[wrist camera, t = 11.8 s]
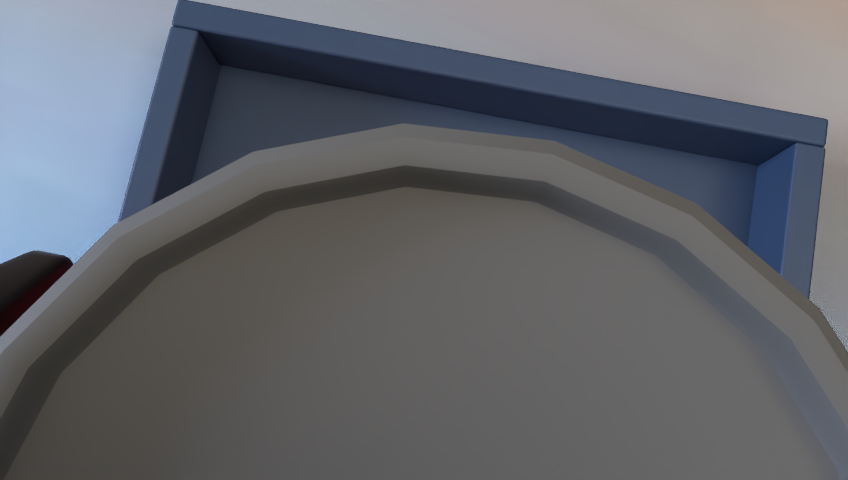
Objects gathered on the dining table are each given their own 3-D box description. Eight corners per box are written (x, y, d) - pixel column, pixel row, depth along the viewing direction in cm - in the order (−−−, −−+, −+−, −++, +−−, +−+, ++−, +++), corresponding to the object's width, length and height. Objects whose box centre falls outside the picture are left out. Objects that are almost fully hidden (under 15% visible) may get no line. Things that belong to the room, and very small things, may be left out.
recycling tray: (687, 902, 15) (734, 996, 12) (21, 756, 15) (-47, 822, 13) (778, 150, 17) (829, 118, 15) (207, 43, 18) (177, -3, 15)
